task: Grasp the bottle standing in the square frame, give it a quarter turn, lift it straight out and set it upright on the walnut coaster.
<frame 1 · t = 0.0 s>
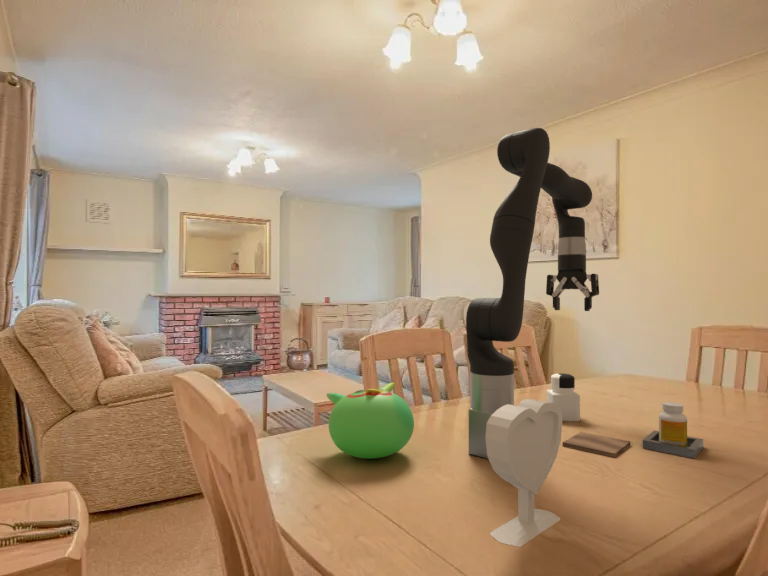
hand: (571, 310, 136), 29 cm above the table, fingers open, 8 cm apart
coaster: (596, 445, 107), on the table
medicine bottle: (562, 418, 130), on the table
square frame: (673, 447, 105), on the table
supplement bottle: (673, 448, 105), resting in square frame
heart sculpture: (526, 527, 70), on the table
green rounded blob: (370, 456, 101), on the table
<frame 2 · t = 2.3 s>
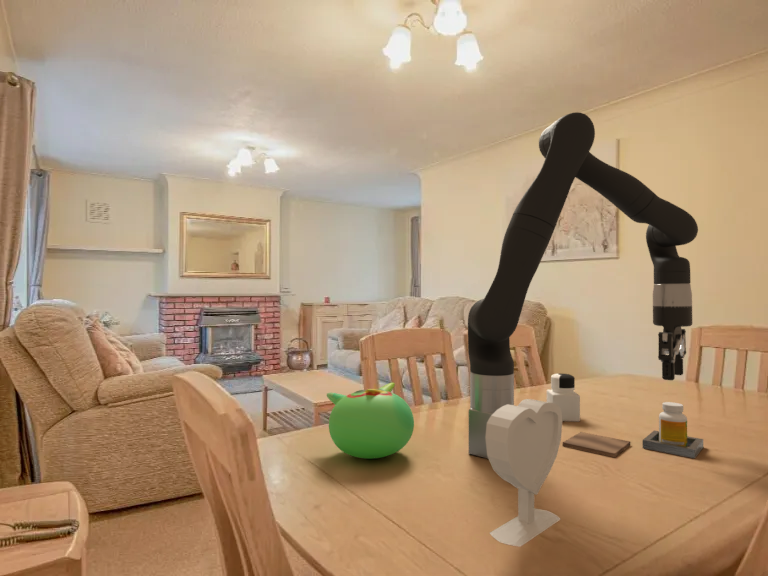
hand: (673, 377, 106), 16 cm above the table, fingers open, 8 cm apart
nothing on the table moved.
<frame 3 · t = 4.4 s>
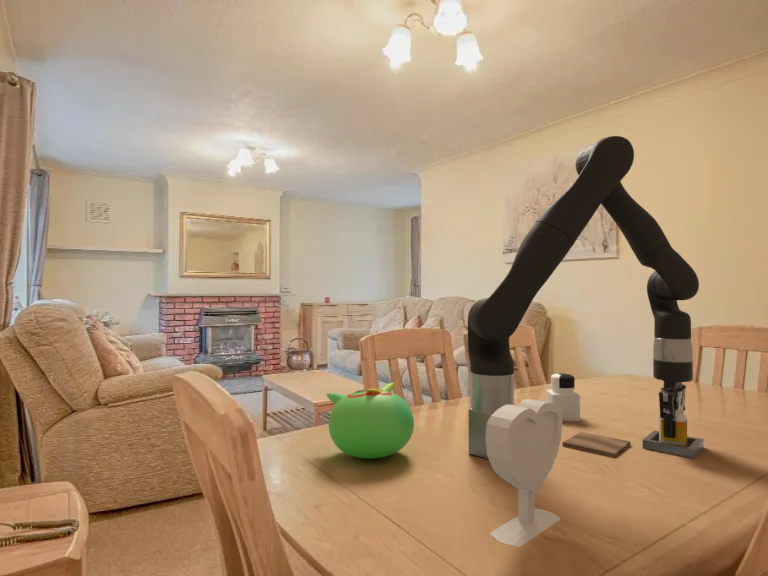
hand: (673, 434, 106), 3 cm above the table, fingers closed on supplement bottle, 5 cm apart
supplement bottle: (673, 448, 105), resting in square frame, touching gripper
everything else where it was.
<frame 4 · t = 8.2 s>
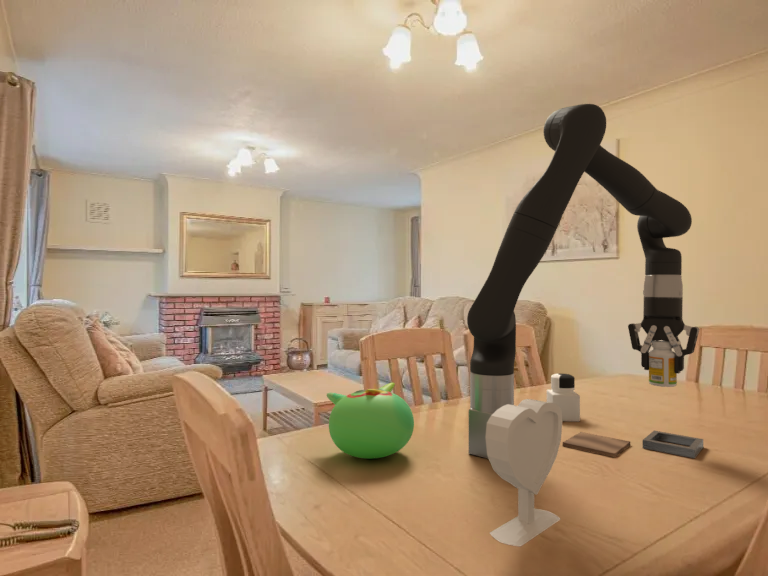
hand: (661, 371, 106), 17 cm above the table, fingers closed on supplement bottle, 5 cm apart
supplement bottle: (662, 385, 106), point 14 cm above the table, touching gripper
everything else where it was.
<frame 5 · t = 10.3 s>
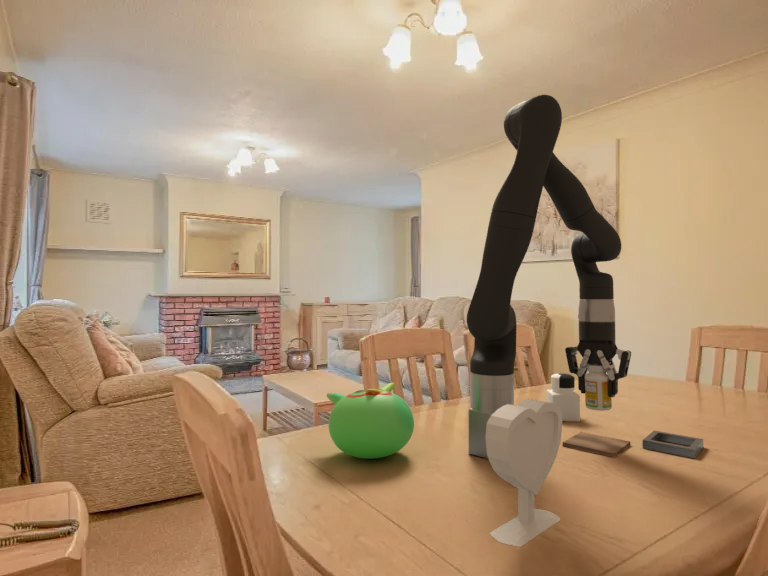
hand: (597, 394, 107), 12 cm above the table, fingers closed on supplement bottle, 5 cm apart
supplement bottle: (598, 409, 107), point 8 cm above the table, touching gripper
everything else where it was.
when the fingers open (5 cm above the table, at t = 12.4 s): supplement bottle stays where it is, resting on coaster.
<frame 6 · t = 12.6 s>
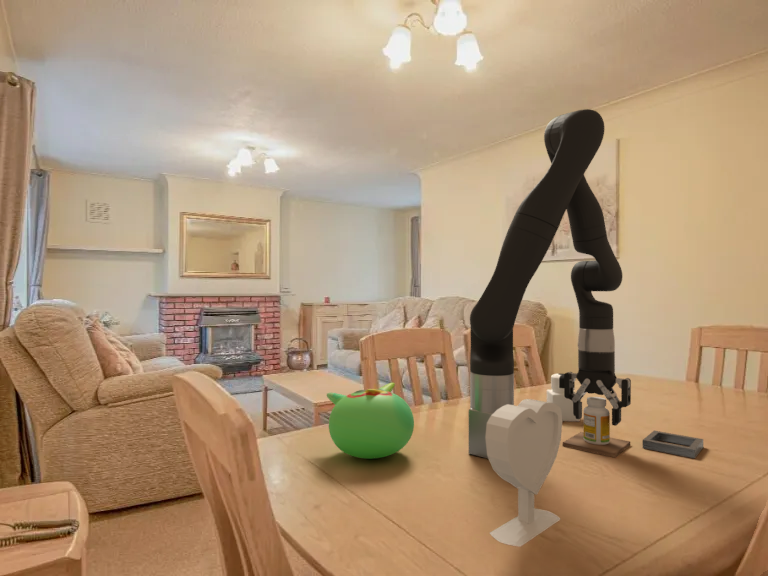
hand: (596, 421, 107), 5 cm above the table, fingers open, 7 cm apart
supplement bottle: (596, 442, 107), point 1 cm above the table, touching coaster
everything else where it was.
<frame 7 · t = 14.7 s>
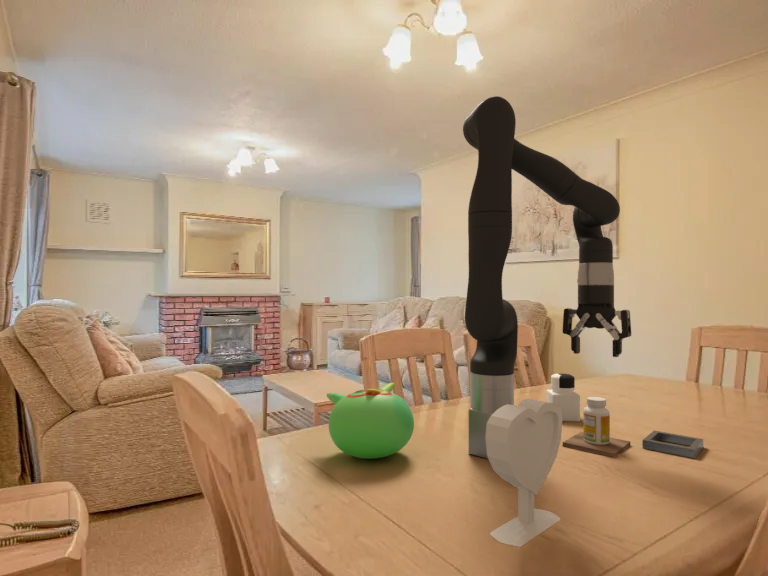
hand: (595, 355, 108), 20 cm above the table, fingers open, 8 cm apart
nothing on the table moved.
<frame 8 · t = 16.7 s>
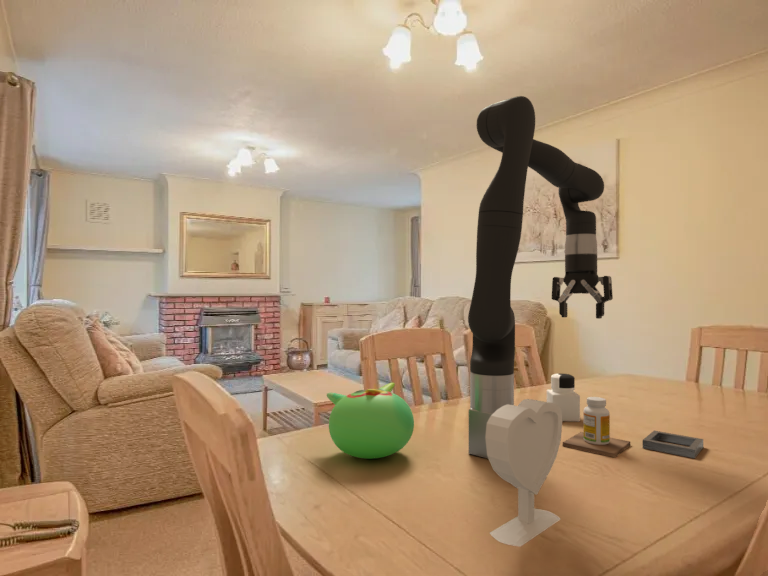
hand: (581, 317, 119), 28 cm above the table, fingers open, 8 cm apart
nothing on the table moved.
at the end: supplement bottle inside the target area on the coaster (0.1 cm from its centre), point 0.6 cm above the coaster's base; supplement bottle tilted 0°; the gripper is holding nothing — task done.
